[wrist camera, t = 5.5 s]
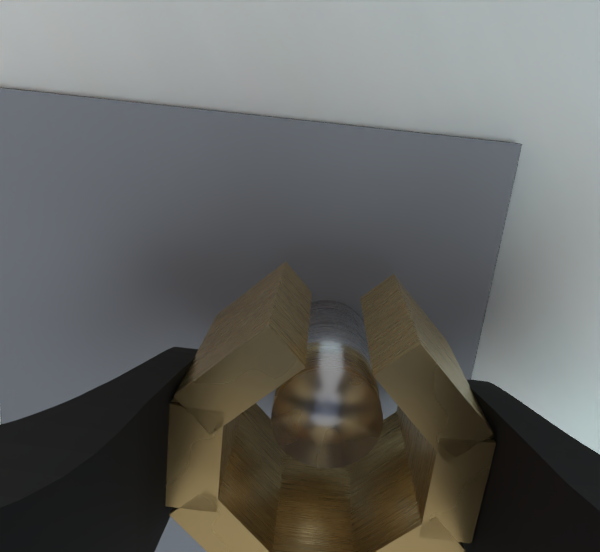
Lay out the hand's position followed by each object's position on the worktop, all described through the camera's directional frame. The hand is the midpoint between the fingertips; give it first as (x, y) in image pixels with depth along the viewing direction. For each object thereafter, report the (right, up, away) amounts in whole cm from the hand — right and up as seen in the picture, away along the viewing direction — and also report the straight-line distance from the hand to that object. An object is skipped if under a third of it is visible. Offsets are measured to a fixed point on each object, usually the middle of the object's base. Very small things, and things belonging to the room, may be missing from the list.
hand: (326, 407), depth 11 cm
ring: (0, 0, +1) cm, 1 cm away
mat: (-2, 0, +4) cm, 5 cm away
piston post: (0, +1, +4) cm, 4 cm away
